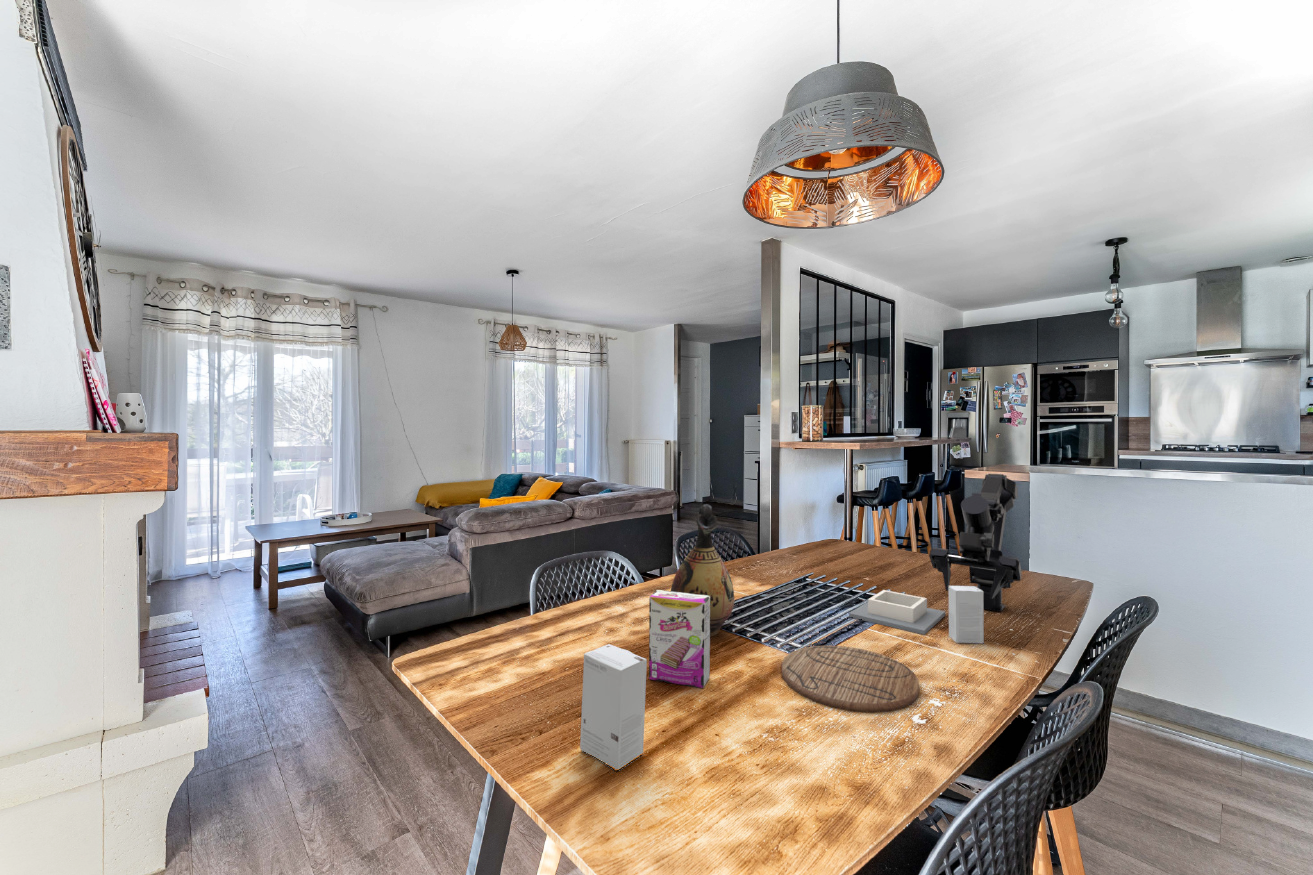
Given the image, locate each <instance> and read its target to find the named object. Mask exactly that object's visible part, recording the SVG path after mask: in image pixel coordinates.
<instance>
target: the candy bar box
mask: <svg viewBox="0 0 1313 875" xmlns="http://www.w3.org/2000/svg"><path fill="white" fill-rule="evenodd" d="M648 602H649V603H648V604H649V606H648V609H649V610H648V612H649V614H648V615H649V617H648V620H649V621H648V623H649V625H648V626H649V627H648V630H649V632H648V638H649V641H648V644H649V645H648V647H649V648H648V650H649V651H648V652H649V653H648V679H649V680H652V681H657V682H663V681H664V682H665V683H671V684H675V685H681V686H688V687H694V688H699V689H700V688H701V689H704V688H705V686H706V684H707V682H708V681H709V679H710V677H711V676H710V672H711V668H710V664H711V663H710V661H711V660H710V657H711V656H710V655H711V653H710V652H711V650H710V649H711V648H710V647H711V636H710V596H707V595H699V594H689V593H681V592H673V591H671V590H662V589H656V590H655V591H654V592H653V593H652V594H650V596H649V601H648Z"/></svg>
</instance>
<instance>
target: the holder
mask: <svg viewBox="0 0 1313 875" xmlns="http://www.w3.org/2000/svg"><path fill="white" fill-rule="evenodd" d="M867 602H868V613H871V614H875V615H880V616H884V617H889V618H893V619H897V620H902V621H906V622H911V623H914V622H915V621H916V620H917V619H919V618H920V617H921V616H922V615H924V614H925V613H926V612H927V608H928V598H926V597H922V596H917V595H911V594H907V593H901V592H897V591H890V590H885V589H882V590H881V591H879V592H878V593H876V594H874V595H873V596H871V597H870V598H867Z"/></svg>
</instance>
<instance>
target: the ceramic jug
mask: <svg viewBox="0 0 1313 875" xmlns="http://www.w3.org/2000/svg"><path fill="white" fill-rule="evenodd" d="M712 510H713V507H712V505H710V504H707V503H706V504H702V505H701V506H700V507H699V511H698V513H699V514H698V515H697V517H696V525H697V538H696V541H695V546H694V547H692V549H691V550H690V551H689V552H688V554H687V556H686V557H685V558H684V559H683V561H682V563H681V564H680V566H679V567H678V569H677V571H676V573H675V575H674V577H673V581H672V584H671V588H670V591H673V592H681V593H689V594H699V595H707V596H710V637H714V636H716V635H717V634H719V632H720V629H721V628H722V627H723V625H724V623H726V622H727V621H728V619H730V617H731V615H732V613H733V608H734V605H735V591H734V586H733V581H732V577H731V575H730V573H729V571H728V569H727V567H726V565H725V564H724V562H723V560H722V557H721V556H720V554H719V553H718V552H717V550H716V549H715V545H713V544H714V543H713V540H712V537H711V536H712V531H715V530H716V528H717V524H718V521H717V517H716V515H712Z"/></svg>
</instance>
